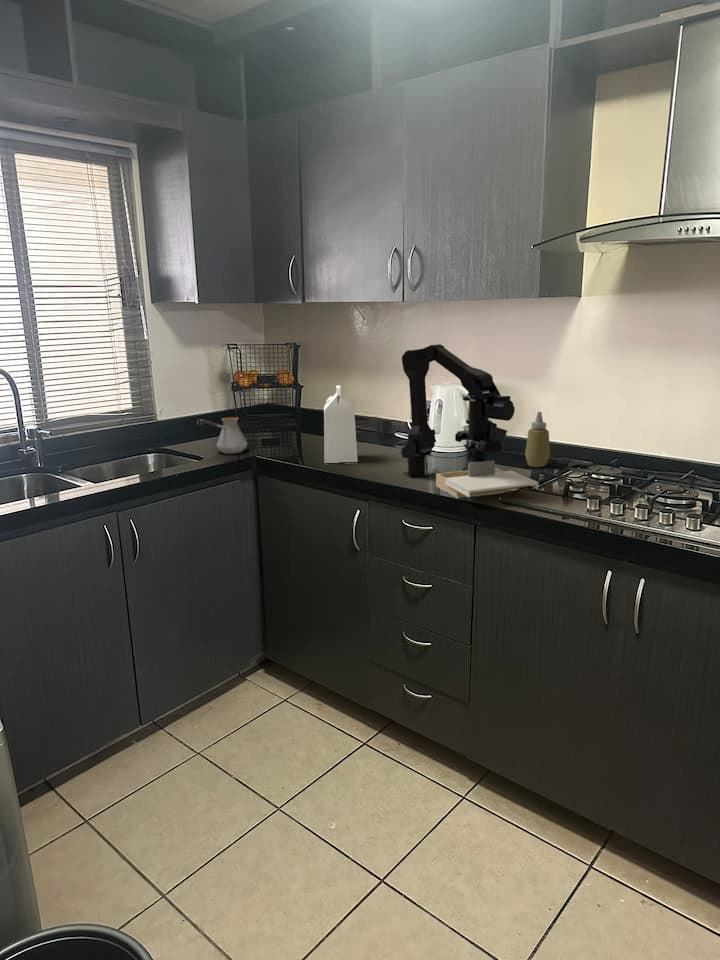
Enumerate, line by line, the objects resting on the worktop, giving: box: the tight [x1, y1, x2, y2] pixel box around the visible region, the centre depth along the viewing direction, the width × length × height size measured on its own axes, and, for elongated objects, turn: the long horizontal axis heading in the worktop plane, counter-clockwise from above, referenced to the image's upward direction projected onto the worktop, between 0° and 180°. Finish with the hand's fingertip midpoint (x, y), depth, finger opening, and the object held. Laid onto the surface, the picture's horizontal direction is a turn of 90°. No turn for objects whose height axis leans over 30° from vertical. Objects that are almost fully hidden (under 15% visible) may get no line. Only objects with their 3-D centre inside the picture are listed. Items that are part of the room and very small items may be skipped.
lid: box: [446, 459, 539, 498], centre depth 195 cm, size 14×22×6 cm
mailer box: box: [435, 466, 520, 499], centre depth 203 cm, size 14×20×4 cm
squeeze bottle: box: [524, 411, 551, 468], centre depth 228 cm, size 8×8×18 cm
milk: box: [323, 385, 359, 464], centre depth 241 cm, size 12×12×26 cm
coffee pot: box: [197, 416, 248, 455], centre depth 255 cm, size 21×12×15 cm, turn 146°
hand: (477, 469), depth 202 cm, fingers closed
